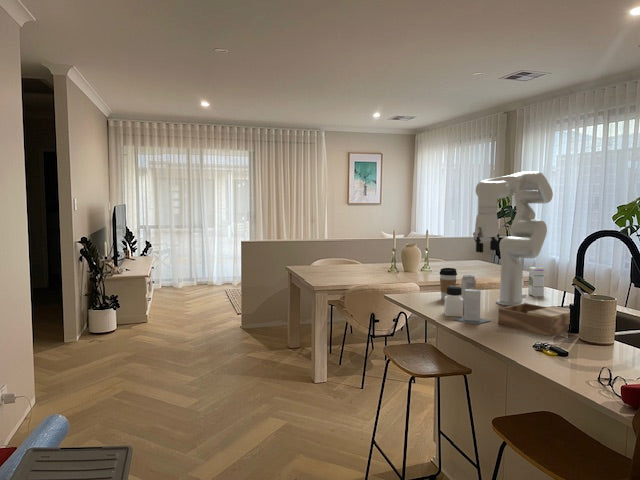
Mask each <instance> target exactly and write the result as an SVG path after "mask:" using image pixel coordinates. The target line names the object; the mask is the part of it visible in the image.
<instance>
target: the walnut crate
mask: <svg viewBox="0 0 640 480" xmlns="http://www.w3.org/2000/svg"><path fill="white" fill-rule="evenodd" d="M570 309H571V308H565V307H560V306H556V305H552V306H548V307H547V306H541V305H537V304H532V303H527V302H525V303H524V304H519V305H514V306H505V307H499V308H498V318H497V319H498V321H497V324H498V325H503V326H506V327H507V326H508V327H511V328H515V329H518V330H523V331H527V332H531V333H535V334H539V335H544V336H548V337H552V336H555V335H558V334H562V333H563V334H564V333H566V332H569V331H568V330H569V324H570Z"/></svg>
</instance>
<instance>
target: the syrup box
mask: <svg viewBox="0 0 640 480" xmlns="http://www.w3.org/2000/svg"><path fill="white" fill-rule="evenodd" d="M544 292H545V268H544V267H541V266H529V267H528V293H527V294H528V295H529V296H532V297H537V298H538V297H539V298H540V297H544V296H545V293H544Z"/></svg>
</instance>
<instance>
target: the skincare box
mask: <svg viewBox="0 0 640 480" xmlns="http://www.w3.org/2000/svg"><path fill="white" fill-rule="evenodd" d="M481 292H482V291H481V289H476V290H473V289H465V302H464V310H463V317H464V320H470V321H480V318H481V295H482V294H481Z"/></svg>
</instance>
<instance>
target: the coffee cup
mask: <svg viewBox="0 0 640 480" xmlns="http://www.w3.org/2000/svg"><path fill="white" fill-rule="evenodd" d="M457 275H458V272H457V269H456V268H453V267H443V268H440V271H439V276H440V277H439V283H440V285H439V286H440V295H441V296H440V297H441V300H442V301H445V296H447V287H449V286H457Z"/></svg>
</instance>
